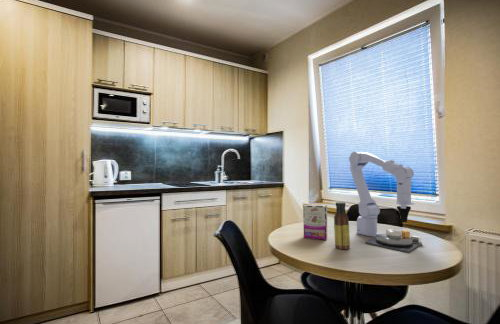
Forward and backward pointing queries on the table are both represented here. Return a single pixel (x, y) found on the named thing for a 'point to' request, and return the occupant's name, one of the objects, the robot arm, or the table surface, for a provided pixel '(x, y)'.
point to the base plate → (407, 249)
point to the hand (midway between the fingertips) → (403, 222)
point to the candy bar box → (315, 221)
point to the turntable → (403, 241)
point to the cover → (393, 234)
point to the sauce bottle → (341, 227)
